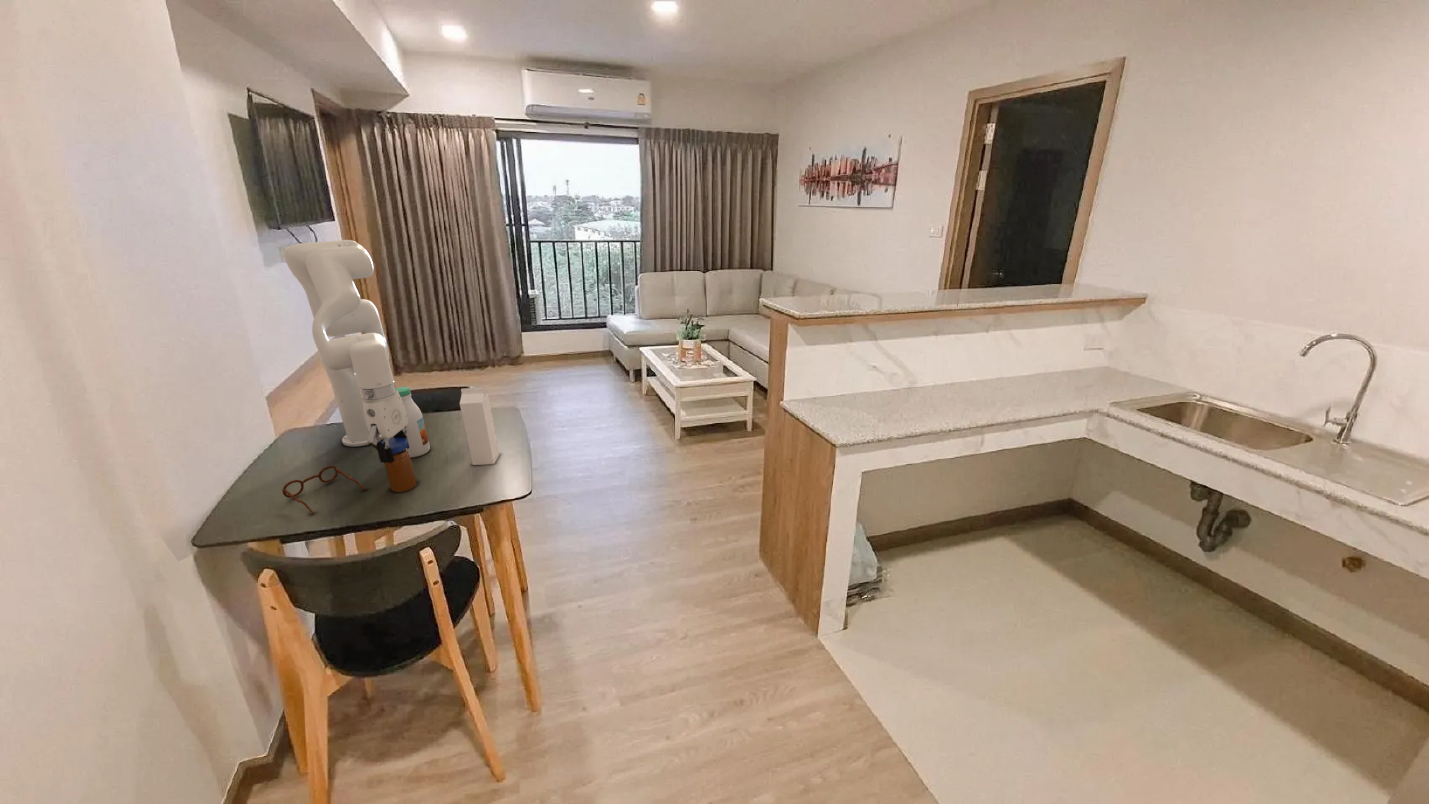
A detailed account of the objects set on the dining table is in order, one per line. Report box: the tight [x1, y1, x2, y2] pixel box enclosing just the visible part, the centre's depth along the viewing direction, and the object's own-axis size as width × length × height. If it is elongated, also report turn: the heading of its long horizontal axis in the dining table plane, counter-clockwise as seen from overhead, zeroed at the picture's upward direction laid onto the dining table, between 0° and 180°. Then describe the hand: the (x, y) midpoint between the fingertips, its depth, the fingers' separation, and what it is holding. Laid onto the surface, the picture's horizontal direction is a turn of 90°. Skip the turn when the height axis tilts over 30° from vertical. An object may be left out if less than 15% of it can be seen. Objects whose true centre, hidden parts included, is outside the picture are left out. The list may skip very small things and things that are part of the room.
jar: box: [383, 449, 418, 493], centre depth 144 cm, size 6×6×10 cm
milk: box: [459, 387, 500, 466], centre depth 155 cm, size 6×6×22 cm
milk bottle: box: [396, 386, 431, 458], centre depth 161 cm, size 8×8×20 cm
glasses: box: [281, 465, 366, 515], centre depth 142 cm, size 13×13×5 cm
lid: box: [380, 437, 408, 454], centre depth 142 cm, size 7×7×2 cm
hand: (395, 454), depth 143 cm, fingers closed on lid, 6 cm apart
